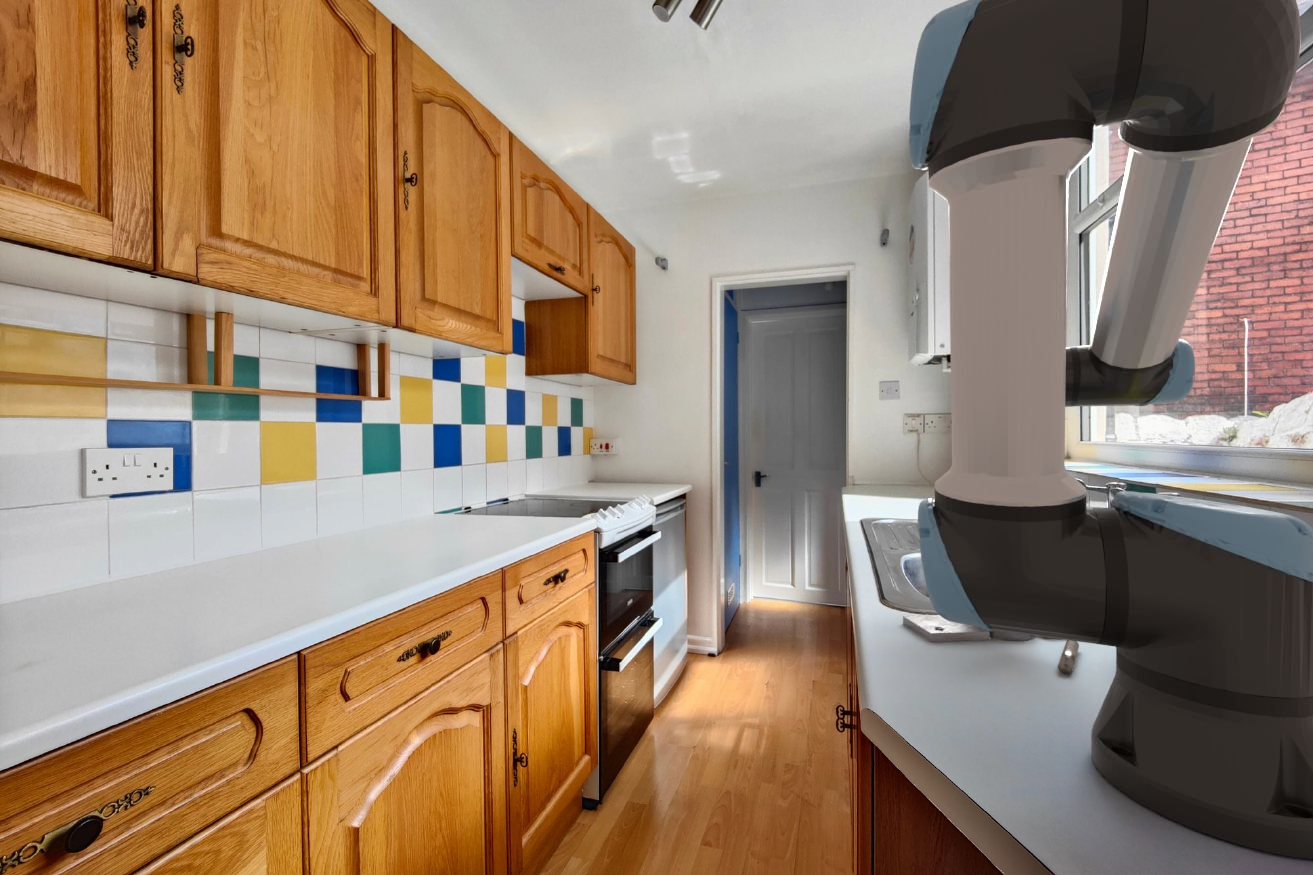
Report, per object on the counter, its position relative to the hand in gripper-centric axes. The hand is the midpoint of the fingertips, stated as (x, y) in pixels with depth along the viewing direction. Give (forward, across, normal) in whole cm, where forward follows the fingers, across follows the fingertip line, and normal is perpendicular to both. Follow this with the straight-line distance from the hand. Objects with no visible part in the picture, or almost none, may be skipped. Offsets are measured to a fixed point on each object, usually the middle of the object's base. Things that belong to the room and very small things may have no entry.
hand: (999, 596), depth 81 cm
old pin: (+5, -12, -1) cm, 13 cm away
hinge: (+5, 0, 0) cm, 5 cm away
